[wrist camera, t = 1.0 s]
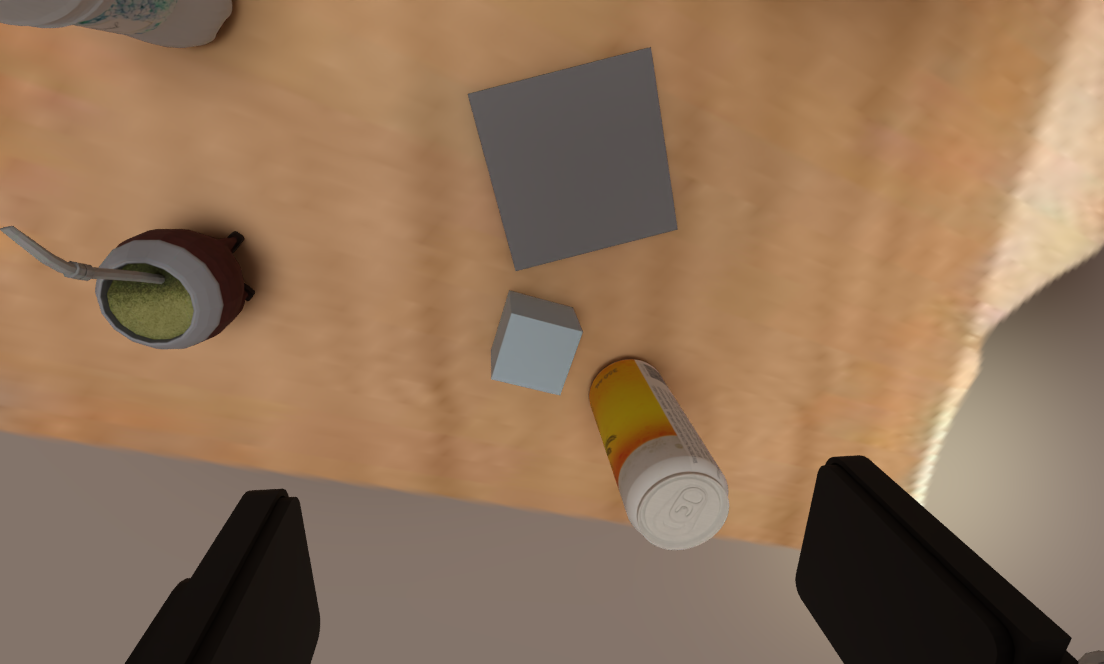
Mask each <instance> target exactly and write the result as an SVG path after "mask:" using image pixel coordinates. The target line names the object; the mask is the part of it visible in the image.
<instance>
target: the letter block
mask: <svg viewBox="0 0 1104 664" xmlns="http://www.w3.org/2000/svg"><path fill="white" fill-rule="evenodd" d="M582 333H583V331H582V329H581V326H580V324H579V321H578V319H577V316H576V314H575V311H574V309H573V307H569V306H565V305H562V304H558V303H554V302H551V301H547V300H543V299H539V298H536V297H532V296H528V295H525V294H521V293H517V292H514V291H510V290H509V292H508V296H507V299H506V302H505V306H504V309H503V312H502V316H501V319H500V322H499V326H498V329H497V332H496V336H495V339H494V342H493V346H492V349H491V379H492V380H497V381H501V382H505V383H509V384H514V385H518V386H522V387H526V388H531V389H535V390H539V391H543V392H548V393H552V394H556V395H560V394H561V391H562V389H563V386H564V383H565V380H566V377H567V375H568V372H569V369H570V366H571V364H572V361H573V358H574V355H575V352H576V350H577V347H578V344H579V341H580V338H581V336H582Z"/></svg>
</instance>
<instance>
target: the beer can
mask: <svg viewBox="0 0 1104 664" xmlns="http://www.w3.org/2000/svg"><path fill="white" fill-rule="evenodd" d="M589 400H590V405H591V408H592V411H593V414H594V417H595V420H596V423H597V426H598V429H599V432H600V435H601V438H602V441H603V444H604V447H605V450H606V453H607V456H608V459H609V462H610V465H611V468H612V471H613V474H614V477H615V480H616V483H617V486H618V489H619V492H620V494H621V497H622V500H623V503H624V506H625V509H626V512H627V515H628V518H629V520H630V522H631V524H632V525H633V527H634V528H635V529H636V530H637V531H638V532H640V533H641V534H642V535H643V536H644V537H645V538H646V539H647V540H648V541H649V542H650V543H652V544H653V545H655V546H658V547H660V548H663V549H668V550H682V549H688V548H692V547H695V546H698V545H700V544H702V543H704V542H706V541H707V540H709V539H710V538H711V537H713V536H714V535H715V534H716V533H717V532H718V531H719V530H720V529H721V527H722V526H723V524H724V523H725V521H726V518H727V515H728V512H729V499H728V485H727V481H726V479H725V476H724V475H723V473H722V472H721V470H720V468H719V467H718V465H717V464H716V462H715V461H714V459H713V457H712V456H711V454H710V453H709V451H708V449H707V448H706V446H705V445H704V443H703V442H702V440H701V438H700V437H699V435H698V434H697V432H696V430H695V429H694V427H693V426H692V424H691V423H690V421H689V419H688V418H687V416H686V415H685V413H684V411H683V410H682V408H681V407H680V405H679V404H678V402H677V400H676V399H675V397H674V396H673V394H672V393H671V391H670V389H669V388H668V386H667V385H666V383H665V381H664V380H663V378H662V377H661V375H660V374H659V372H658V371H657V370H656V369H655V368H654V367H653V366H651V365H650V364H648V363H646V362H644V361H640V360H634V359H628V360H621V361H618V362H615V363H612V364H611V365H609V366H607V367H606V368H604V369H603V370H602V371H601V372H600V373H599V374H598V375H597V376H596V378H595V379H594V381H593V383H592V385H591V388H590V393H589Z"/></svg>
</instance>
